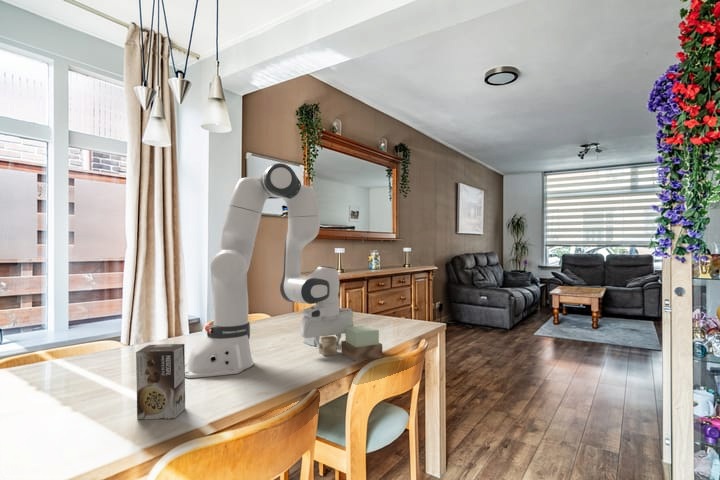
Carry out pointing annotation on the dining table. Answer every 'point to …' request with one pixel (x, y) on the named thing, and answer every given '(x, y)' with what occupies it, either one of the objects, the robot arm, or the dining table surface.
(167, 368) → the coffee box
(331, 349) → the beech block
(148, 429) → the dining table surface
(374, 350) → the walnut block
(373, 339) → the sage block
